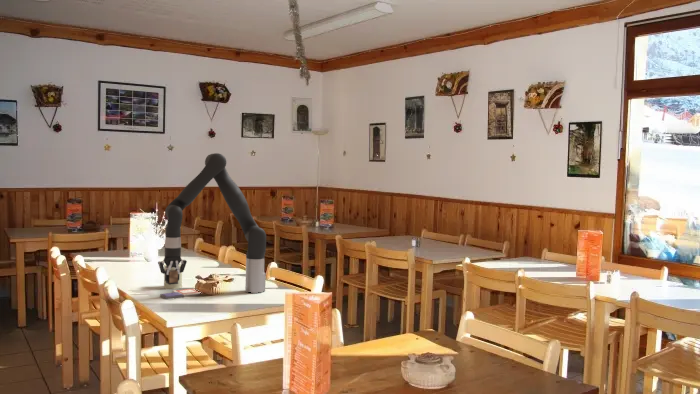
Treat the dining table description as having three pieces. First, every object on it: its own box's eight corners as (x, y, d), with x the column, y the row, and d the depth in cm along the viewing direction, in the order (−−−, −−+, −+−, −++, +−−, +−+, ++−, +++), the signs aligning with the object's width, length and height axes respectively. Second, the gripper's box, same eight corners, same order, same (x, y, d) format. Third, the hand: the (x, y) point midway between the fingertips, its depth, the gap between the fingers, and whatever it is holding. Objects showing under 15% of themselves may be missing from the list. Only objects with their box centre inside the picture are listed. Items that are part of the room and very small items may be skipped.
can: (163, 289, 312) (163, 265, 311) (163, 285, 321) (164, 262, 320) (182, 288, 314) (182, 265, 314) (182, 285, 323) (182, 262, 322)
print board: (193, 289, 313) (193, 288, 313) (202, 293, 305) (202, 291, 305) (172, 291, 306) (172, 290, 306) (180, 295, 298) (181, 294, 298)
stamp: (174, 282, 298) (174, 269, 298) (178, 283, 295) (178, 271, 294) (165, 282, 295) (166, 270, 295) (169, 284, 292) (169, 272, 292)
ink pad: (178, 294, 301) (178, 291, 301) (183, 297, 295) (183, 294, 295) (160, 296, 295) (160, 293, 295) (165, 299, 290) (165, 296, 290)
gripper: (161, 248, 287) (160, 284, 288) (190, 246, 296) (189, 281, 296) (155, 246, 293) (154, 281, 294) (183, 244, 301) (183, 279, 302)
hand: (172, 281), depth 295 cm, fingers closed on stamp, 4 cm apart
